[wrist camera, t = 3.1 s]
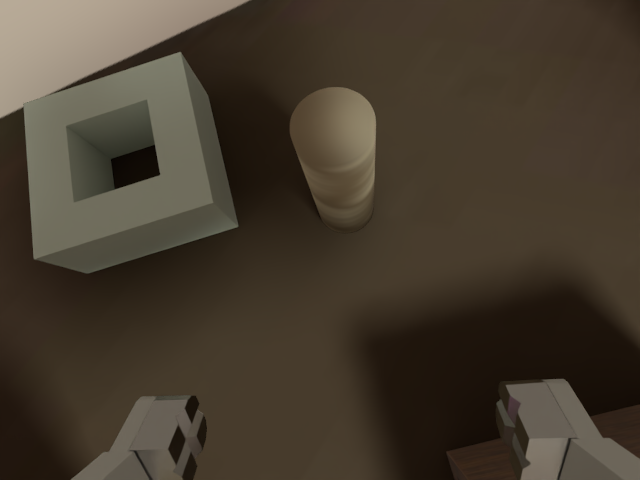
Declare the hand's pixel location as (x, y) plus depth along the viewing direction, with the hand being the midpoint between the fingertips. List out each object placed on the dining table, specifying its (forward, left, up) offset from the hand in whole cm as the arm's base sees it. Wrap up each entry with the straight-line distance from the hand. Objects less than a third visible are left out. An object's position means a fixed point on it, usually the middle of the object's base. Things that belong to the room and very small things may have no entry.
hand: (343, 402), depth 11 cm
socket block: (+12, -18, -16) cm, 27 cm away
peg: (-2, -11, -16) cm, 19 cm away
